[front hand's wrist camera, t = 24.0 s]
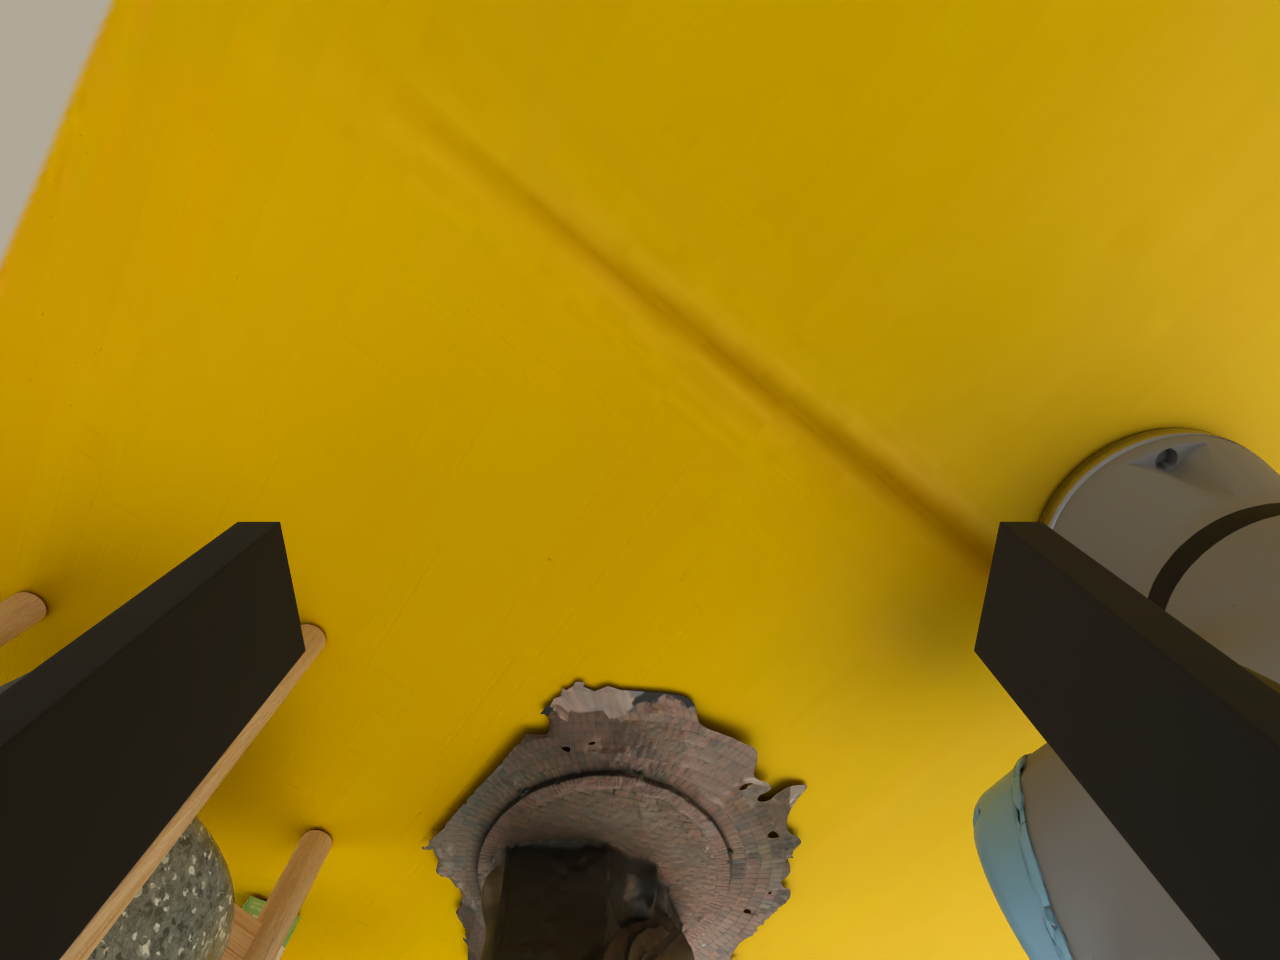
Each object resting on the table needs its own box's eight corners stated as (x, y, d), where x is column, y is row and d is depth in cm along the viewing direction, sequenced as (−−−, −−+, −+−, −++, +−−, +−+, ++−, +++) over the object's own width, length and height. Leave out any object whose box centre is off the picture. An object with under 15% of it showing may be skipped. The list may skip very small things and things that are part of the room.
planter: (326, 625, 49) (-167, 1244, 19) (333, 852, 57) (-12, 1550, 27) (8, 589, 48) (-1040, 1183, 18) (59, 825, 56) (-619, 1519, 26)
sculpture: (325, 829, 56) (210, 1047, 41) (675, 618, 49) (690, 788, 34) (566, 1041, 65) (544, 1282, 50) (889, 889, 58) (975, 1116, 43)
